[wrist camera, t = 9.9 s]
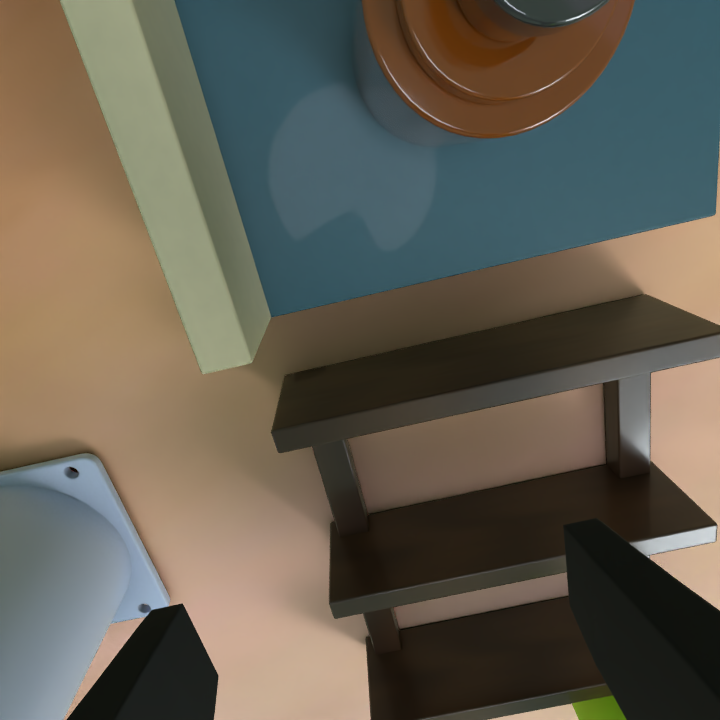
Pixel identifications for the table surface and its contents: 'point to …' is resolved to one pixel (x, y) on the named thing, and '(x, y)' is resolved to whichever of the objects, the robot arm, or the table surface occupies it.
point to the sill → (373, 158)
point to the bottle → (479, 63)
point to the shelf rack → (493, 502)
